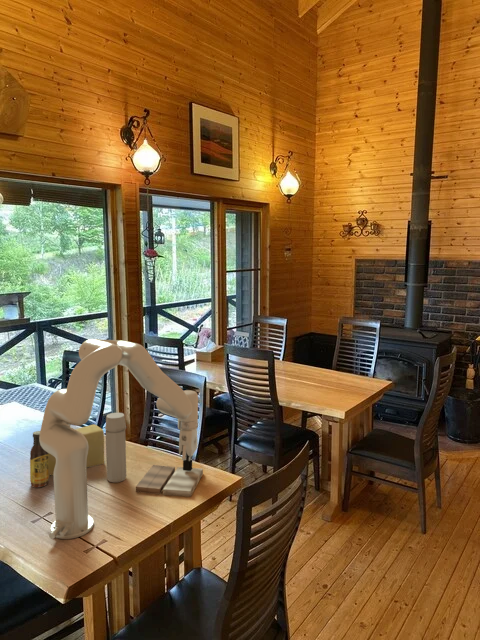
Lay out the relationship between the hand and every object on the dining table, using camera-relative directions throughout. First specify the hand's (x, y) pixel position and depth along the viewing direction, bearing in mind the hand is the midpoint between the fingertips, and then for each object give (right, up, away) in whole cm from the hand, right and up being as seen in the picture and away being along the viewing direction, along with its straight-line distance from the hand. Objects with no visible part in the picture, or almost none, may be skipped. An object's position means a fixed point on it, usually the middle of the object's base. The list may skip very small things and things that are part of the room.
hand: (187, 469), depth 182 cm
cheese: (-46, -2, +7) cm, 47 cm away
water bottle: (-26, -3, -1) cm, 27 cm away
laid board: (-11, -3, -3) cm, 12 cm away
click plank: (-1, -3, -5) cm, 6 cm away
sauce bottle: (-54, -4, -6) cm, 54 cm away
